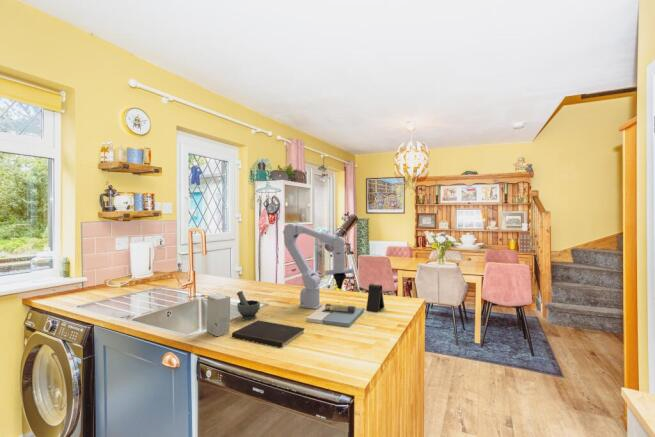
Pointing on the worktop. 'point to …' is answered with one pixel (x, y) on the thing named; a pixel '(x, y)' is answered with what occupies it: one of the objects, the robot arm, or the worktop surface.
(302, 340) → the worktop surface
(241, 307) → the mortar and pestle
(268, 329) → the hardcover book
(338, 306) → the swing bar
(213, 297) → the skincare box
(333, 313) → the door panel
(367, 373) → the worktop surface
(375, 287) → the phone stand
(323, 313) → the jamb plate
